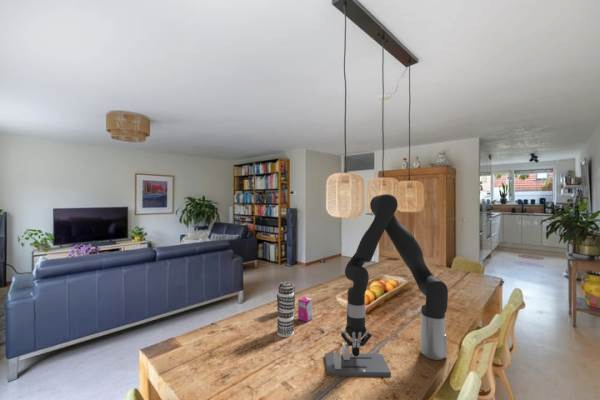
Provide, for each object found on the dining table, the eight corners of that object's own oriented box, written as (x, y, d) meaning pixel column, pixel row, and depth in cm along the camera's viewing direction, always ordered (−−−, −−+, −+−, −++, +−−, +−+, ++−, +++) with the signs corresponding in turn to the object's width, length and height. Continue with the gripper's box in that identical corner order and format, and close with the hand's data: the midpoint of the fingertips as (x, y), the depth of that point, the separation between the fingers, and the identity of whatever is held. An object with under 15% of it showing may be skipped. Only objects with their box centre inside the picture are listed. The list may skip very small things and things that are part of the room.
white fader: (347, 354, 112) (347, 341, 112) (349, 359, 108) (349, 347, 108) (342, 354, 112) (342, 341, 112) (343, 359, 108) (343, 347, 108)
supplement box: (304, 316, 153) (304, 296, 153) (312, 319, 149) (312, 298, 149) (297, 319, 148) (297, 299, 148) (306, 322, 144) (306, 301, 144)
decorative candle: (273, 335, 131) (273, 284, 131) (281, 327, 139) (281, 279, 139) (290, 339, 128) (291, 286, 128) (297, 330, 136) (297, 281, 136)
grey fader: (339, 362, 106) (339, 349, 106) (341, 369, 102) (341, 355, 102) (333, 362, 106) (333, 349, 106) (334, 369, 102) (334, 355, 102)
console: (381, 357, 113) (381, 353, 113) (391, 376, 101) (391, 372, 101) (325, 356, 113) (325, 353, 113) (327, 375, 101) (327, 371, 101)
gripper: (369, 309, 114) (369, 350, 114) (338, 309, 114) (338, 350, 114) (374, 317, 106) (374, 361, 106) (341, 317, 106) (340, 360, 106)
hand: (355, 355), depth 110 cm, fingers closed
